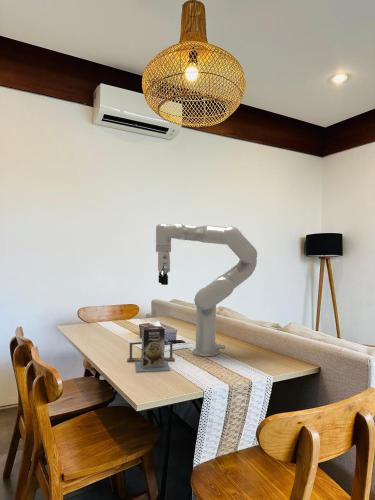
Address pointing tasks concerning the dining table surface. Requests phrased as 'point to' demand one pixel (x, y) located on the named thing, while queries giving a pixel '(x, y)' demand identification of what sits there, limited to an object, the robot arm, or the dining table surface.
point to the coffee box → (153, 347)
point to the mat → (155, 369)
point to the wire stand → (168, 359)
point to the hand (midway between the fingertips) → (163, 283)
